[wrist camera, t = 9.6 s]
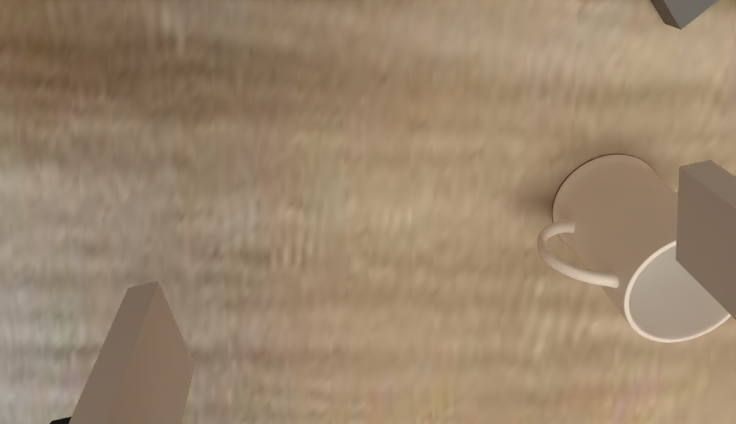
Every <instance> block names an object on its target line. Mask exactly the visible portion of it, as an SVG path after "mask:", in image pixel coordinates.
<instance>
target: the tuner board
mask: <svg viewBox="0 0 736 424" xmlns="http://www.w3.org/2000/svg"><path fill="white" fill-rule="evenodd" d="M651 1H652V3H653V4H654V6H655V8H656V9H657V11H658V12H659V14H660V16H661V17H662V19H663V21H664V22H665V24H667V25H670V26H673V27H675V28H678V29H682V28H684V27H685V26H686V25H687V24H689V23H690V22H691V21H692V20H694V19H695V18H696V17H698V16H699V15H700V14H701V13H703V12H704V11H705V10H706V9H708V8H709V7H710V6H711V5H713V4H714V3H715V2H717V1H718V0H651Z"/></svg>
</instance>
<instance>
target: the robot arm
mask: <svg viewBox="0 0 736 424" xmlns="http://www.w3.org/2000/svg"><path fill="white" fill-rule="evenodd" d="M675 260H676V261H677V262H678V263H679V264H680V265H681V266H682V267H683V268H684V269H685V270H686V271H687V272H688V273H689V274H690V275H691V276H692V277H693V278H694V279H695V280H696V281H697V282H698V283H699V284H700V285H701V286H702V287H703V288H704V289H705V290H706V291H707V292H708V293H709V294H710V295H711V296H712V297H713V298H714V299H715V300H716V301H717V302H718V303H719V304H720V305H721V306H722V307H723V308H724V309H725V310H726V311H727V312H728V313H729V314H730V315H731V316H732V317H733V318H734V319H735V320H736V177H735V176H733V175H732V174H731V173H729V172H728V171H726V170H725V169H723V168H722V167H720V166H719V165H717V164H716V163H714V162H713V161H711V160H708V161H703V162H699V163H694V164H689V165H685V166H680V167H679V189H678V213H677V236H676V259H675ZM194 366H195V364H194V362H193V360H192V357H191V355H190V353H189V350H188V348H187V346H186V344H185V341H184V339H183V337H182V334H181V332H180V330H179V327H178V325H177V323H176V321H175V318H174V316H173V314H172V311H171V309H170V307H169V305H168V302H167V300H166V298H165V295H164V293H163V291H162V288H161V286H160V284H159V282H153V283H149V284H144V285H140V286H135V287H131V288H128V290H127V292H126V294H125V297H124V299H123V301H122V303H121V306H120V308H119V310H118V313H117V315H116V317H115V319H114V322H113V324H112V326H111V329H110V331H109V333H108V335H107V338H106V340H105V342H104V344H103V347H102V349H101V351H100V354H99V356H98V358H97V360H96V363H95V365H94V367H93V369H92V372H91V374H90V376H89V379H88V381H87V383H86V385H85V388H84V390H83V392H82V394H81V397H80V399H79V401H78V404H77V406H76V408H75V410H74V413H73V415H72V417H68V418H64V419H59V420H54V421H52V422H51V423H50V424H181V422H182V418H183V413H184V409H185V405H186V400H187V396H188V392H189V387H190V383H191V379H192V374H193V370H194Z"/></svg>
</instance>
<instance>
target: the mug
mask: <svg viewBox="0 0 736 424" xmlns="http://www.w3.org/2000/svg"><path fill="white" fill-rule="evenodd" d="M677 213H678V194H677V193H676V192H675V191H674V190H673V189H671V188H670V187H669V186H668V185H666V184H665V183H664V182H663V181H662V180H660V179H659V178H658V177H657V175H656V174H655V172H654V171H653V170H652V168H651V167H650V166H649V165H647V164H646V163H645V162H643V161H642V160H640V159H638V158H635V157H632V156H628V155H620V154H616V155H607V156H602V157H599V158H596V159H593V160H591V161H589V162H587V163H585V164H584V165H582V166H581V167H579V168H578V169H576V170H575V171H574V172H573V173H572V174H571V175H570V176H569V177H568V178H567V179H566V180H565V182H564V183H563V184H562V186H561V187H560V189H559V191H558V193H557V195H556V198H555V201H554V205H553V223H552V224H550V225H548V226H546V227H545V228H544V229H543V230H542V231H541V232H540V234H539V236H538V239H537V248H538V251H539V253H540V255H541V257H542V258H543V259H544V260H545V262H547V263H548V264H549V265H550V266H551V267H553V268H554V269H556V270H557V271H559V272H561V273H563V274H565V275H567V276H569V277H572V278H574V279H577V280H580V281H583V282H587V283H591V284H596V285H600V286H601V287H602V288H603V290H604V291H605V292H606V294H607V295H608V296H609V298H610V299H611V300H612V302H613V303H614V304H615V306H616V307H617V308H618V310H619V311H620V312H621V314H622V315H623V316H624V318H625V319H626V320H627V322H628V323H629V324H630V326H631V327H632V328H633V329H634V330H635V331H636V332H637V333H639V334H640V335H642V336H643V337H645V338H648V339H650V340H654V341H658V342H680V341H686V340H690V339H693V338H696V337H699V336H701V335H704V334H706V333H708V332H710V331H711V330H713V329H715V328H716V327H718V326H719V325H721V324H722V323H723V322H725V321H726V320H727V319H728V318H729V317H730V316H731V315H730V314H729V313H728V312H727V311H726V310H725V309H724V308H723V307H722V306H721V305H720V304H719V303H718V302H717V301H716V300H715V299H714V298H713V297H712V296H711V295H710V294H709V293H708V292H707V291H706V290H705V289H704V288H703V287H702V286H701V285H700V284H699V283H698V282H697V281H696V280H695V279H694V278H693V277H692V276H691V275H690V274H689V273H688V272H687V271H686V270H685V269H684V268H683V267H682V266H681V265H680V264H679V263H678V262H677V261H676V260H675V259H676V236H677ZM556 234H558V235H559V236H560V238H561V239H562V240H563V241H564V242H565V243H566V244H567V245H569V246H570V247H572V249H573V250H574V251H575V252H576V254H577V255H578V256H579V258H580V259H581V260H582V262H583V263H584V264H585V266H586V267H587V268H588V269H584V268H581V267H577V266H574V265H572V264H569V263H567V262H565V261H563V260H561V259H559V258H558V257H556V256H555V255H553V254H552V253H551V252H550V251H549V250H548V249H547V247H546V245H545V241H546V240H547V239H548V238H549V237H551V236H553V235H556Z"/></svg>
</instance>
